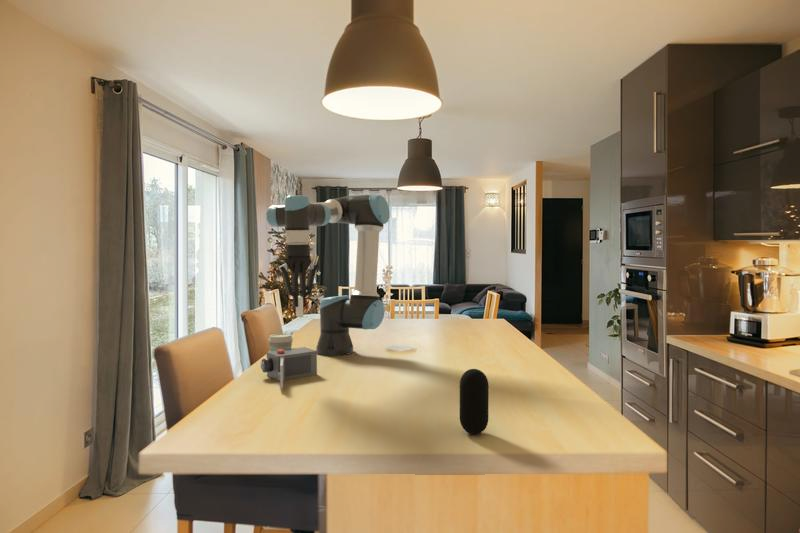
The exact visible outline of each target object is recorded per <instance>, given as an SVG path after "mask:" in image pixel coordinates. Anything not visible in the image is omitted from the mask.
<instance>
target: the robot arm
mask: <svg viewBox="0 0 800 533" xmlns="http://www.w3.org/2000/svg"><path fill="white" fill-rule="evenodd" d="M266 210H267V211H266V213H265V215H266V222H267V223H268V225H270V226H271V227H275V228H277V227H278V228H281V227H285V242H286V244H287V245H286V246H285V252H286V253H285V254H286V256H285V257H286V259H285V260H284V263H283V264H282V265H279V266H278V267H277V268H278V270H279V272H280V273H281V276H282V280H283V284H284V287H285V291H286V295H288V296H291V297H292V306H293V307H295V316H296V317H297V318H304V307H306V304H307V302H306V297H308V295H310V294H312V291H313V286H314V281H315V276H316V272H317V270H318V268H319V265H318V264H315V263H313V262H312V258H311V257H310V256H311V245H310V244H309V243H310V242H311V240H310V227H323V226H326V225H328V224H329V223H330V224H348V225H349V224H350V225H354V228H355V229H356V231H357V242H356V244H357V248H356V260H355V262H356V264H355V277H354V279H355V280H354V282H355V283H354V291H353V292H352V293H351V294H350V297H349V295H347V294H345V295H338V296H337V295H336V296H329V297H324V298H321V300H320V304H319V305H320V306H319V316H320V317H319V320H320V323H319V324H320V326H319V327H320V329H319V330H320V334H319V338H318V341H317V345H316V348H315V351H317V355H321V356H332V357H333V356H345V355H351V354H352V353H354V345H353V344H354V343H353V341H352V338H351V335H350V329H357V330H359V329H360V330H376V329H377V328H379V327H380V325H381V324H382V322H383V320H384V318H385V313H386V312H385V304H384V302H383V301H382V300H380V299H381V298H380V296H381V295H379V294H378V291H377V280H378V264H379V263H378V262H379V261H378V260H379V245H380V244H379V242H380V232H382V231H383V229H384V224H386V223H387V224H388V222H389V219H390V207H389V204H388V202H387V200H386V198H385V197H384V196H383V195H381V194H373V193H371V194H360V195H346V196H342V197H338V198H331V199H328V200H326V201H324V202H322V201H321V202H310V200H309V197H308V196H307V195H303V194H302V195H301V194H300V195H296V194H295V195H287V196H286V197H285V199H284V204H275V205H271V206H269V207H268V208H267V209H266ZM308 268H309V272H308V275H307V270H308ZM288 270H289V271H290V274H291V281H290V276H289V273H288ZM306 276H307V277H306ZM306 278H307V280H306Z"/></svg>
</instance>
